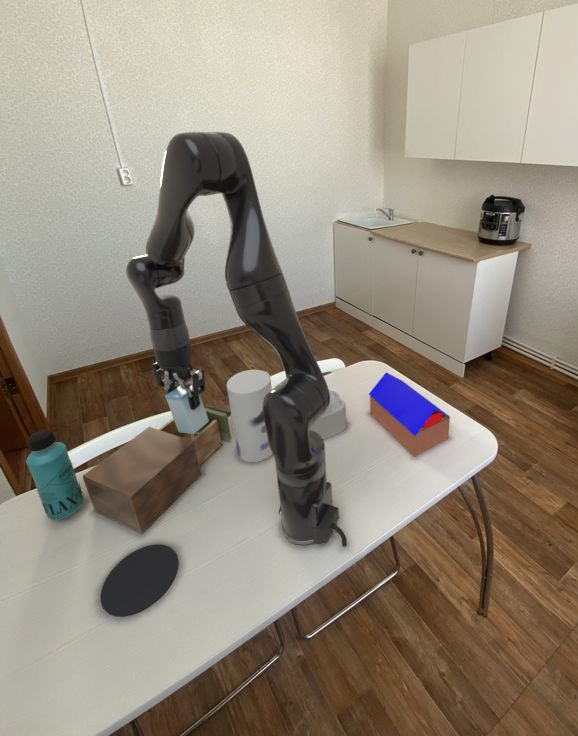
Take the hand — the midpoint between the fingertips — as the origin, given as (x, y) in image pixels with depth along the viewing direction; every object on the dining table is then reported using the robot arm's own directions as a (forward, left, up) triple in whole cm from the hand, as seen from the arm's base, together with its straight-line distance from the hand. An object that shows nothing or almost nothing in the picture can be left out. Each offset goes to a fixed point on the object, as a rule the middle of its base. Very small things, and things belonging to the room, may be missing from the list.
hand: (185, 404), depth 91 cm
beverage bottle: (+12, +23, -14) cm, 30 cm away
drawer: (0, -1, -13) cm, 13 cm away
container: (-14, -7, -14) cm, 21 cm away
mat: (-14, +27, -14) cm, 34 cm away
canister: (-1, 0, -6) cm, 6 cm away
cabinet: (0, +13, -14) cm, 19 cm away
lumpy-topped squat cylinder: (-25, -20, -14) cm, 35 cm away
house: (-47, -29, -14) cm, 57 cm away
